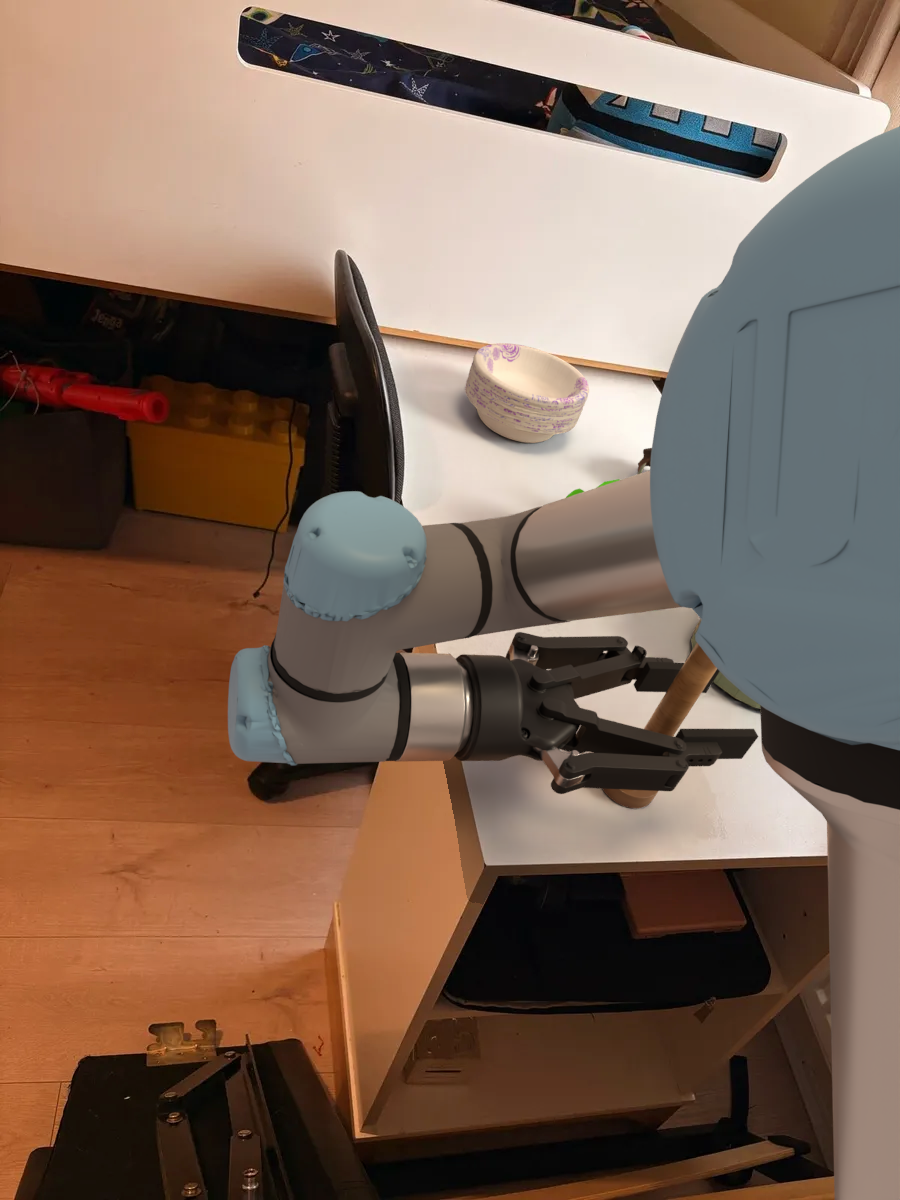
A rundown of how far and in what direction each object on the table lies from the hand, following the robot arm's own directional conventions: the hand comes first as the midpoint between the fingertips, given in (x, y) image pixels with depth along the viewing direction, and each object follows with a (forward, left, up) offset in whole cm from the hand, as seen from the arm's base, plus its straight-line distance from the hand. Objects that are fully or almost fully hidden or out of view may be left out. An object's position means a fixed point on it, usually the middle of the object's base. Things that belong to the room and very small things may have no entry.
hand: (728, 710), depth 71 cm
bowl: (+14, -15, -10) cm, 23 cm away
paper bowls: (+57, -1, -10) cm, 58 cm away
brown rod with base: (0, +5, -10) cm, 11 cm away
